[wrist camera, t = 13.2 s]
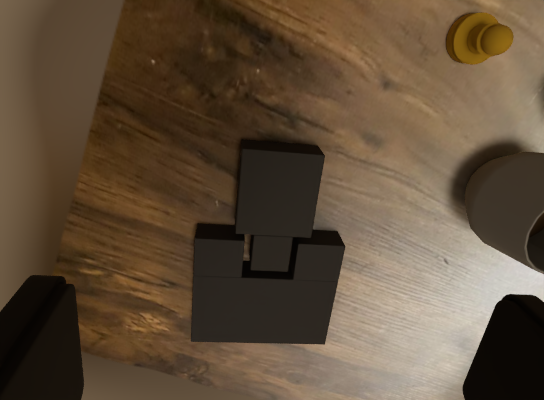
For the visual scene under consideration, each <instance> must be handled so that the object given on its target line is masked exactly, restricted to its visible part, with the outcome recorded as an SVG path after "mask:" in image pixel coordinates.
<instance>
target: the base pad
mask: <svg viewBox="0 0 544 400" xmlns="http://www.w3.org/2000/svg"><path fill="white" fill-rule="evenodd" d="M244 244H245V237H244V234H236V233H235V226H232V225H215V224H197V229H196V235H195V246H194V272H193V299H192V326H191V342H237V343H287V344H325V341H326V336H327V331H328V326H329V322H330V317H331V312H332V307H333V303H334V298H335V293H336V288H337V283H338V279H339V274H340V269H341V265H342V260H343V255H344V250H345V245H344V243H343V241H342V239H341V237H340V235H339V233H338V232H337V231H320V230H312V234H311V238H305V237H293V240H292V247H291V254H290V261H289V266H288V271H287V272H284V271H261V270H251V269H250V261H243V254H244Z"/></svg>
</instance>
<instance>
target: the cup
mask: <svg viewBox="0 0 544 400" xmlns="http://www.w3.org/2000/svg"><path fill="white" fill-rule="evenodd" d="M465 206H466V213H467V217H468V220H469V224H470V227H471V229H472V230H473V231H474V232H475V234H476V235H477V236H478V237H479V238H480V239H481V240H482V241H483V242H484V243H485V244H487V245H489V246H491V247H493V248H495V249H497V250H498V251H500V252H502V253H504V254H506V255H508V256H510V257H511V258H513V259H515V260H517V261H519V262H521V263H523V264H524V265H526V266H528V267H530V268H532V269H534V270H536V271H538V272H540V273H543V274H544V153H535V152H520V153H516V154H512V155H508V156H504V157H500V158H497V159H493V160H490V161H488V162H487V163H485V164H484V165H482V166H480V167H479V168H478V169H477V170H476V172H475V173H474V174H473V175H472V176H471V178H470V180H469V182H468V184H467V186H466V192H465Z"/></svg>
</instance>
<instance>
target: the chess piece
mask: <svg viewBox="0 0 544 400" xmlns="http://www.w3.org/2000/svg"><path fill="white" fill-rule="evenodd" d="M512 42H513V32H512V31H511V29H510V28H509V27H507V26H505V25H502V24H500V23H498V21H497V20H496V18H495V17H493V16H492V15H490V14H488V13H472V14H467V15H464V16H462V17H460V18H459V19H458V20H457V21H455V23H454V24H453V25H452V27H451V28H450V30H449V32H448V35H447V39H446V47H447V51H448V53H449V55H450V57H451V58H452V59H453V60H455V61H457V62H460V63H466V64H478V63H481V62H483V61H485V60H487V59H488V58H489V57H492V56H494V55H499V54H502V53H504V52H505V51H506V50H508V49H509V47H510V46H511V44H512Z"/></svg>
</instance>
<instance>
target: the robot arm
mask: <svg viewBox="0 0 544 400" xmlns="http://www.w3.org/2000/svg"><path fill="white" fill-rule="evenodd" d="M83 387H84V378H83V368H82V358H81V347H80V336H79V325H78V315H77V304H76V293H75V287H74V285H73V284H66V280H65V278H64V277H62V276H41V275H32V276H30V277H29V278H28V279H27V280H26V281H25V282H24V283H23V285H22V286H21V287H20V288H19V290H18V291H17V292H16V293H15V294H14V296H13V297H12V298H11V299H10V301H9V302H8V303H7V304H6V306H5V307H4V308H3V309H2V310H1V312H0V400H81V397H82V394H83ZM463 395H464V398H465V400H544V302H543V301H542V300H540V299H539V298H538V297H536V296H533V295H516V294H509V295H506V296H505V297H503V299H502V300H501V301H499V302H498V303H497V304H496V306H495V308H494V311H493V313H492V316H491V318H490V321H489V323H488V325H487V328H486V330H485V333H484V335H483V338H482V340H481V342H480V345H479V347H478V350H477V352H476V355H475V357H474V359H473V362H472V364H471V367H470V369H469V372H468V374H467V376H466V379H465V381H464V384H463Z"/></svg>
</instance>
